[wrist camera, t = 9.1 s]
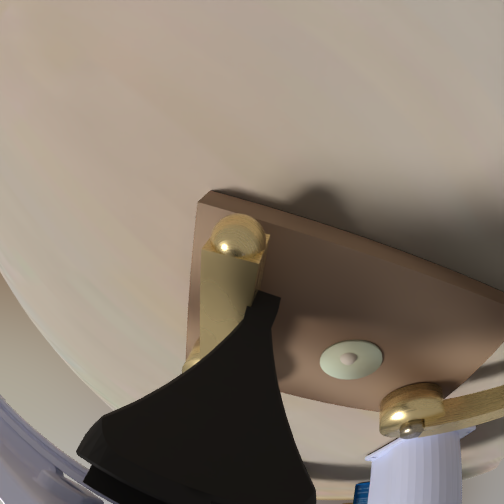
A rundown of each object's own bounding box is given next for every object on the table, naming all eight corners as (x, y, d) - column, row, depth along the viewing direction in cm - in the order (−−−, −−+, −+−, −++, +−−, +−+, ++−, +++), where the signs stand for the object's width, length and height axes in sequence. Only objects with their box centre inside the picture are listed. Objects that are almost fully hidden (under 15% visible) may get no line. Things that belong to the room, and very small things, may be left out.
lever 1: (262, 387, 15) (252, 421, 13) (195, 367, 15) (180, 398, 13) (315, 211, 9) (311, 249, 7) (196, 185, 9) (161, 213, 7)
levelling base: (419, 402, 15) (421, 422, 13) (193, 345, 16) (182, 367, 15) (517, 298, 9) (529, 320, 8) (210, 190, 11) (191, 207, 9)
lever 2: (376, 417, 14) (375, 448, 12) (383, 387, 12) (384, 424, 11) (510, 391, 11) (516, 417, 9) (534, 356, 9) (544, 384, 7)
